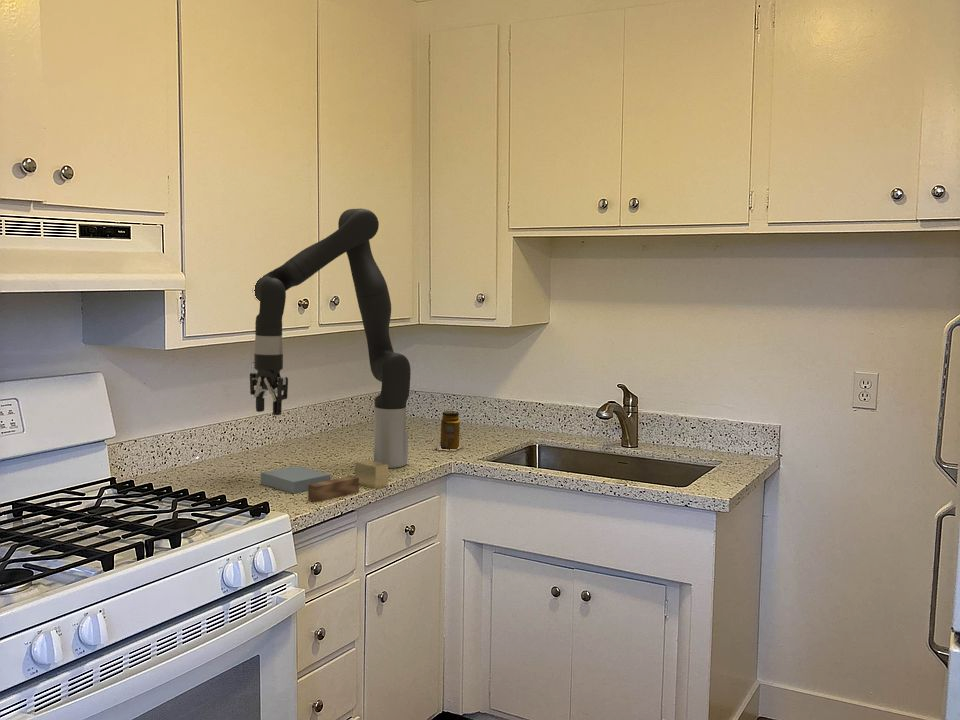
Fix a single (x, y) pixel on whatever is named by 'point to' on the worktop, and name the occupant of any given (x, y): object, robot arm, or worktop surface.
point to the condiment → (450, 430)
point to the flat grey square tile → (293, 478)
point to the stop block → (333, 488)
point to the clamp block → (372, 473)
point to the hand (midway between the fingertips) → (268, 413)
